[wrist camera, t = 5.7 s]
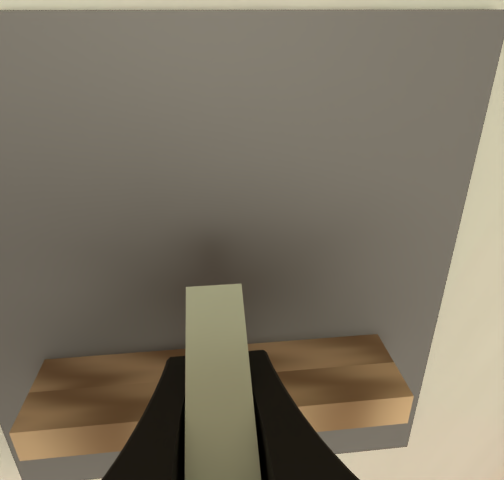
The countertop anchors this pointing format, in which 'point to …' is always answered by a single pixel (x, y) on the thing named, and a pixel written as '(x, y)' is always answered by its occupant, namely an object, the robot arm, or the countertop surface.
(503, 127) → the countertop surface
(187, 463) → the sage notched plate
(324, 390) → the oak slotted plate
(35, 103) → the board
